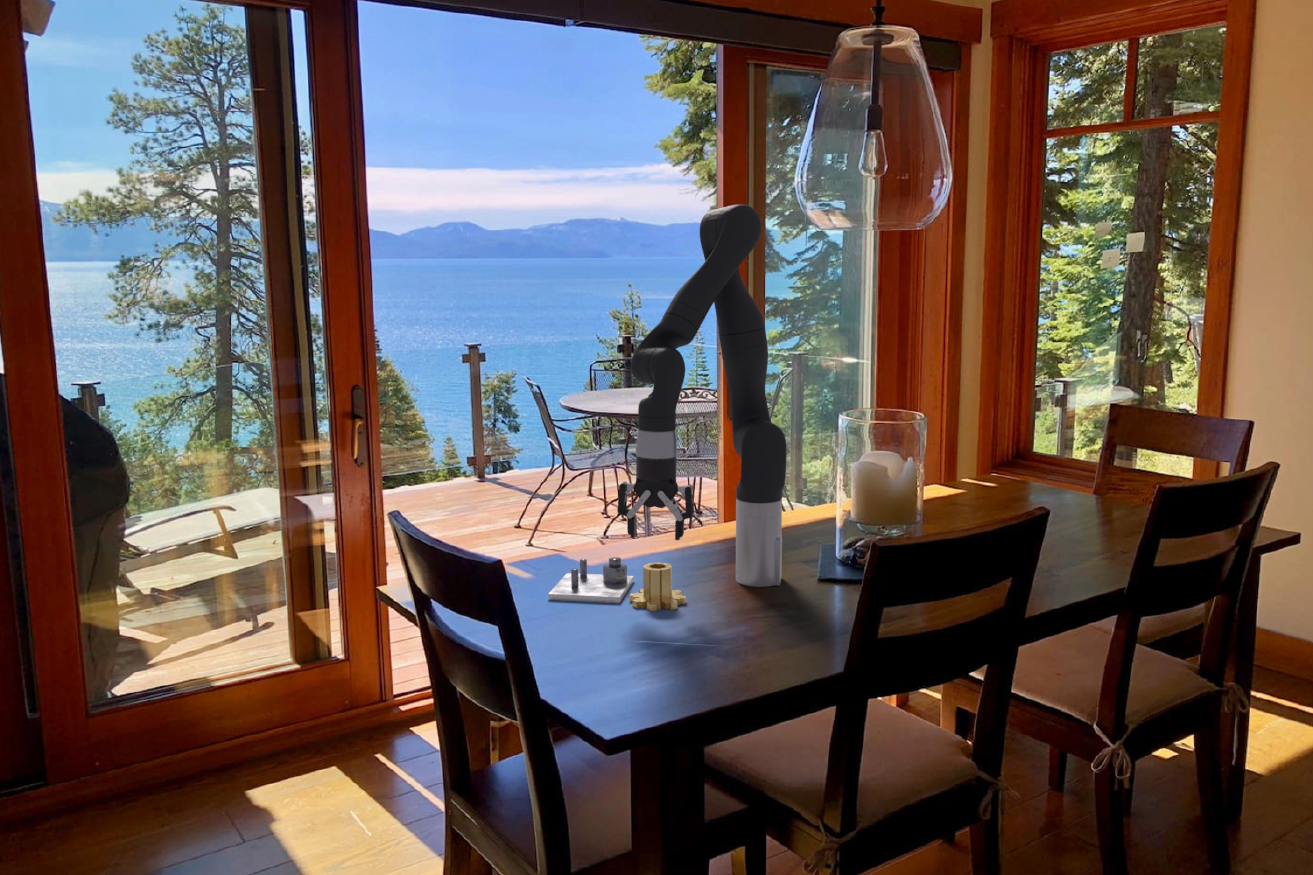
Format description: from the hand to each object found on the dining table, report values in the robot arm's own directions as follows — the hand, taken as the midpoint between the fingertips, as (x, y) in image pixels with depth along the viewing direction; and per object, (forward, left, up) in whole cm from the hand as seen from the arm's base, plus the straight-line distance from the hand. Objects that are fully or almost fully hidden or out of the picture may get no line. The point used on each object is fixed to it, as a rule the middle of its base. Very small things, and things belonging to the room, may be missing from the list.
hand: (655, 538), depth 183 cm
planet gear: (0, 0, -13) cm, 12 cm away
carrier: (+14, -5, -13) cm, 19 cm away
